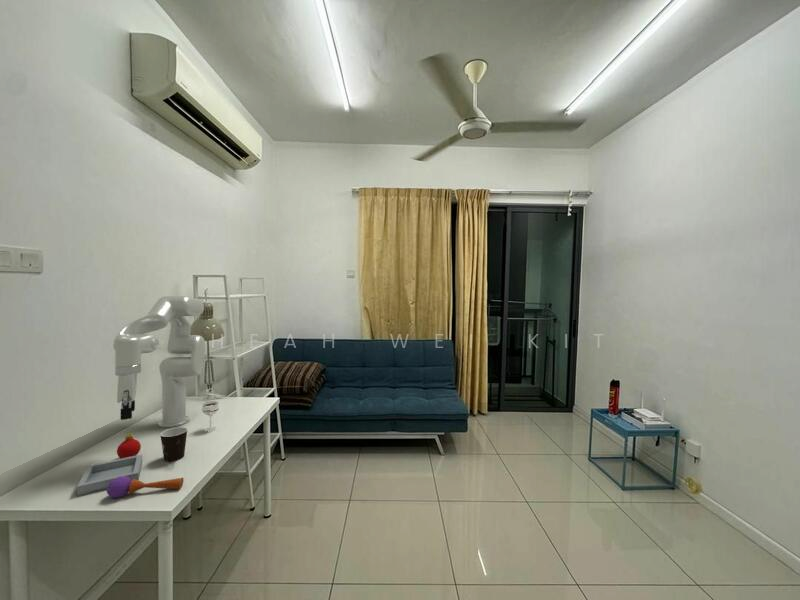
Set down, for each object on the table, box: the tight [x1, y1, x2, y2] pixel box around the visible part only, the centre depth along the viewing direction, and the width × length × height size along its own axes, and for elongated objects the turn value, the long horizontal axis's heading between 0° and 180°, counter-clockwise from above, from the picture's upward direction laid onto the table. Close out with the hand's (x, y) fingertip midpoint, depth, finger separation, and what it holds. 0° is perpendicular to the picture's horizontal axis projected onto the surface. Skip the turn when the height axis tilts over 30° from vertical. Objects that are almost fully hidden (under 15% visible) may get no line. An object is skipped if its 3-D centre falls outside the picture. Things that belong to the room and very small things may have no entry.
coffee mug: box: [159, 426, 188, 463], centre depth 127 cm, size 12×9×10 cm
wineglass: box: [201, 400, 220, 432], centre depth 154 cm, size 7×7×12 cm
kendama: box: [106, 476, 185, 499], centre depth 106 cm, size 6×6×20 cm
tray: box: [76, 454, 143, 497], centre depth 114 cm, size 15×15×3 cm
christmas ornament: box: [116, 431, 142, 459], centre depth 127 cm, size 7×7×10 cm
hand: (127, 415), depth 127 cm, fingers open, 9 cm apart
